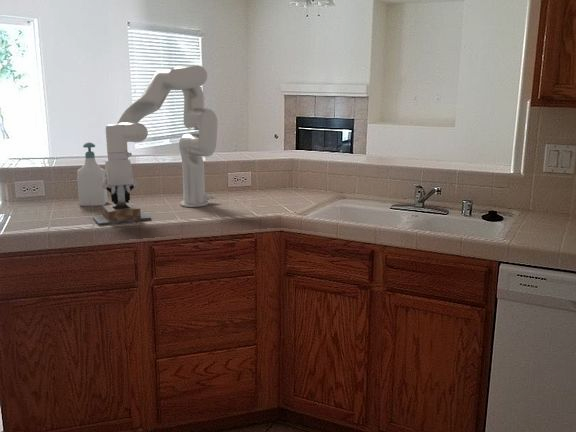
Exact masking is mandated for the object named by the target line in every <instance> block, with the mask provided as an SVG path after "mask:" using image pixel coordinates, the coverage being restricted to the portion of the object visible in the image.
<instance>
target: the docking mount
mask: <svg viewBox="0 0 576 432" xmlns="http://www.w3.org/2000/svg"><path fill="white" fill-rule="evenodd" d="M126 205H127V208H124V209H116V204H108V205H107V204H105V205H101V206H102V207H101V208H102V215H95V216H94V215H93V216H92V220H93V221H94V223H96V225H97V226H98V227H100V226H101V225H102V226H109V225H110V224H111V225H120V224H126V222H129V223H136V222H135V221H138V222H144V221H146V220H147V221H152V217H151V216H150V215H148V214H147V213H146V212H144V211H141V208H140V207H139V206H137V205H136V204H135V203H133V202H129V203H127V202H126ZM119 223H120V224H119Z"/></svg>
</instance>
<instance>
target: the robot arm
mask: <svg viewBox="0 0 576 432" xmlns="http://www.w3.org/2000/svg"><path fill="white" fill-rule="evenodd" d="M207 80H208V72H207V70H206V69H205V68H204V66H202V65H198V64H197V65H196V64H195V65H194V64H190V65H186V64H185V65H177V66H176V67H174V68H161V69H158V70H157V71H156V72H155V73H154V75H153V76H152V78H151V79H150V81H149V83H148V84H147V86H146V88H145V90H144V91H143V93H142V94H141V96H140V98H138V99H137V100H135V101H134V102H133V103H132V104H131V105H130V106H129V107H127V108H126V109H125V111H124V112H122V115H121V116H120V117H119V120H118V121H117V123H110V124H107V125H105V140H106V153H107V159H106V160H105V162H104V170H105V180H104V181H103V183H102V185H101V187H102V188H104V189H106V190H107V192H108V193H110V198H111V202H112V203H113V205H116V204H117V201H116V194H115V186H118V185H125V190H126V204H127V203H130V201H131V191H132V190H133V189H134V188H135V187H137V186H138V185H139V183H138V181H137V180H136V178H135V177H134V173H133V168H132V162H131V159H129V158H130V157H132V156H133V154H132V152H129V150H128V143H141V142H143V141H145V140H146V139H147V137H148V134H149V131H148V129H147V127H146V126H145V124H142V123H140V121H141V120H142V119H143V118H145V117H147V116H148V115H151V114H154V113H155V112H157V111H158V110H161V107H162V106H163V105H164V102H165V100H166V99H167V97H168V95H169V93H170V92H171V91H182V94H183V125H184V127H185V128H186V129H188V130H191V131H198V133H197V132H196V133H195V132H189V133H185V134H183V135H182V136H181V137H180V138H179V141H178V150H179V153H180V157H181V167H182V168H181V170H182V173H181V174H182V194H183V195H182V197H183V200H181V201H179V205H180V206H181V207H186V208H198V207H204V206H206V207H207V206H208V205H209V204H210V203H209V202H210V201H209V200H215V199H216V194H207V193H206V186H205V163H204V159H203V157H204V158H208V157H211V156H212V155H214V153H215V151H216V148H217V142H218V140H217V139H218V116H217V115H216V112H215V111H213V110H212V109H210V108H205V96H204V91H203V89H202V86H203V85H204V84H205V83H206V82H207ZM106 184H107V186H106Z"/></svg>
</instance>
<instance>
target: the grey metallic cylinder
mask: <svg viewBox="0 0 576 432" xmlns="http://www.w3.org/2000/svg"><path fill="white" fill-rule="evenodd" d="M115 194H116V201H117V204H115V205H116V209H124V208H127V205H126V204H127V202H126V189H125V185H118V186H115Z"/></svg>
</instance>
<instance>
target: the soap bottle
mask: <svg viewBox="0 0 576 432" xmlns="http://www.w3.org/2000/svg"><path fill="white" fill-rule="evenodd" d="M95 147H96V144H94V143H93V142H89V141H88V142H86V143H84V144H83V148H87V151H86V152H85V154H84V155H85V159H84V161H85V162H84V164H83V165H82V166H81V167H80V168H78V169H77V170H76V182H77V191H78V193H77V194H78V205H79V206H81V207H82V206H83V207H84V206H87V207H88V206H106V205H107V203H108V201H109V200H108V190H106V189H104V188H102V187H101V185H102V183H103V181H104V180H105V168H102V167H101V166H100V165H99V164H98V163H97V161H96V158H95V157H96V156H95V152H94V151H92V148H95ZM106 186H107V187H108V185H107V184H106Z"/></svg>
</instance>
